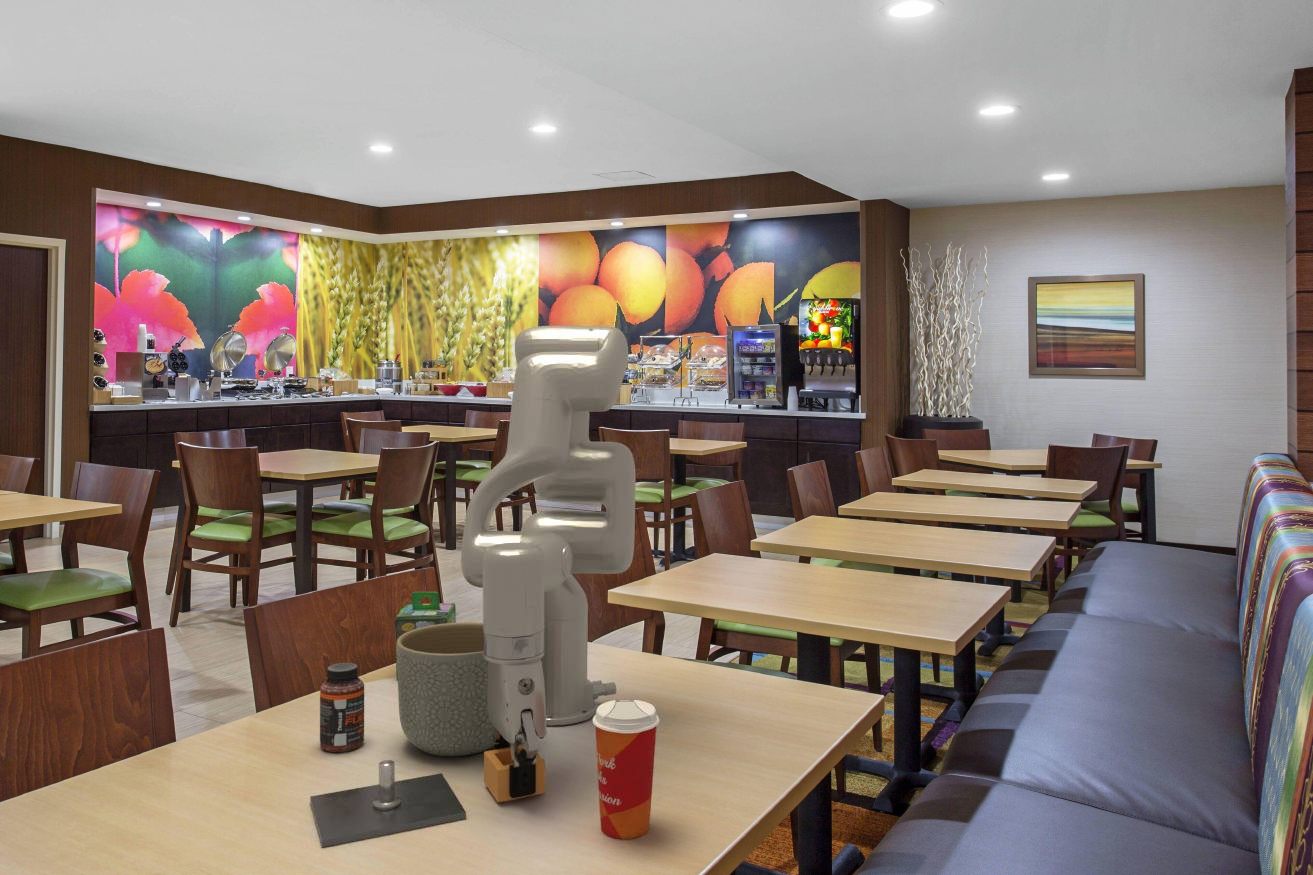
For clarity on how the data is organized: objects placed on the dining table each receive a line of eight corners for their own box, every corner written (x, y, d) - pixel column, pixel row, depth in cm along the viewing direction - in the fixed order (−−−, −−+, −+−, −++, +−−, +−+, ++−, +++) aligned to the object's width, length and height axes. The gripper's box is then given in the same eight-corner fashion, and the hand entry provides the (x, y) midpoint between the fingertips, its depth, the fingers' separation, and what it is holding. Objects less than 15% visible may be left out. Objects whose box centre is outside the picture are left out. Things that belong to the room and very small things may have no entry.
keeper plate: (441, 779, 119) (441, 735, 119) (465, 818, 108) (465, 770, 108) (310, 802, 112) (309, 756, 112) (322, 847, 101) (321, 795, 101)
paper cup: (591, 813, 110) (592, 698, 109) (655, 811, 111) (656, 696, 110) (592, 845, 102) (593, 722, 102) (661, 843, 103) (662, 720, 102)
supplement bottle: (350, 755, 126) (350, 674, 126) (311, 751, 127) (310, 671, 127) (372, 739, 132) (372, 661, 132) (334, 735, 133) (334, 658, 133)
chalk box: (457, 665, 168) (457, 584, 167) (448, 681, 159) (448, 596, 158) (406, 665, 167) (405, 584, 166) (394, 681, 158) (393, 596, 157)
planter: (464, 777, 120) (464, 661, 119) (370, 751, 128) (370, 642, 127) (542, 735, 134) (542, 631, 134) (453, 714, 143) (453, 616, 142)
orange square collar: (529, 773, 120) (529, 743, 119) (544, 792, 114) (544, 761, 114) (484, 782, 117) (484, 751, 117) (497, 802, 112) (497, 770, 111)
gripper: (567, 659, 108) (566, 807, 110) (521, 622, 124) (521, 752, 125) (505, 668, 105) (505, 820, 106) (465, 628, 120) (466, 762, 122)
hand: (514, 782), depth 116 cm, fingers closed on orange square collar, 6 cm apart
